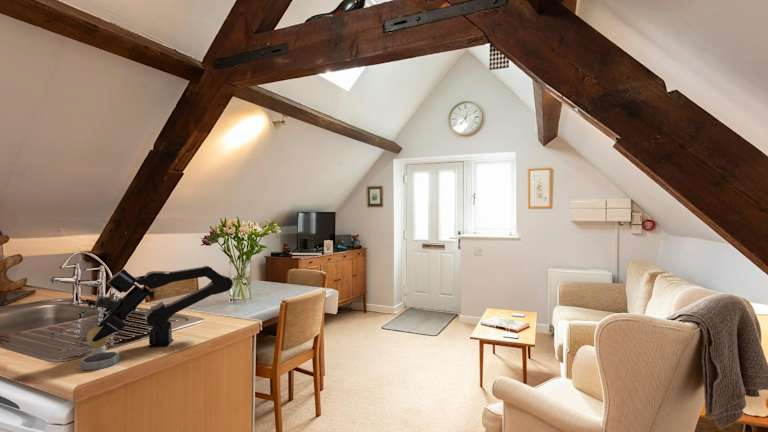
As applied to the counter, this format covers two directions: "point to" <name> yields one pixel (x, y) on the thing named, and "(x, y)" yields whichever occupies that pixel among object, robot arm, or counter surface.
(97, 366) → the saucer
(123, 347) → the counter surface
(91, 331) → the light bulb
